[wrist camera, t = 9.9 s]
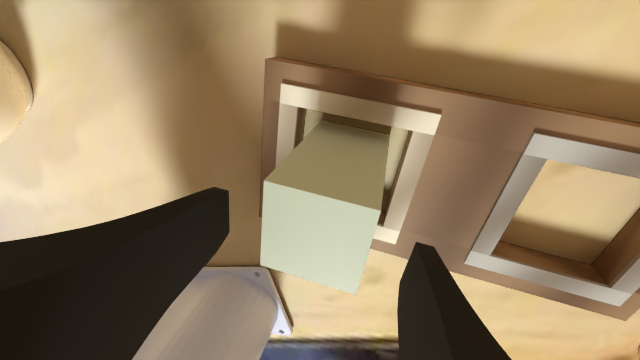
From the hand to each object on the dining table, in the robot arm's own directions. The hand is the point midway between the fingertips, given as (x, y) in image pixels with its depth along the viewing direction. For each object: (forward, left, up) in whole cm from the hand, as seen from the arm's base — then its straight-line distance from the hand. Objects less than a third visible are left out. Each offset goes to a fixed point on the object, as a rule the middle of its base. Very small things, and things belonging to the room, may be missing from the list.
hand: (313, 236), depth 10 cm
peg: (0, 0, -8) cm, 8 cm away
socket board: (+6, -2, -8) cm, 10 cm away
